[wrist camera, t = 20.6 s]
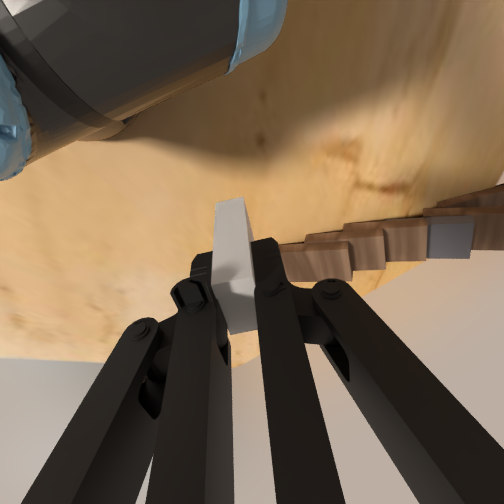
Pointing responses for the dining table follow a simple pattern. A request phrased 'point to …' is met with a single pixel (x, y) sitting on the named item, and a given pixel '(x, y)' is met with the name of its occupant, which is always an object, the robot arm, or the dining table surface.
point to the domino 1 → (317, 261)
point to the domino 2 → (358, 246)
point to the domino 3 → (399, 238)
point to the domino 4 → (448, 236)
